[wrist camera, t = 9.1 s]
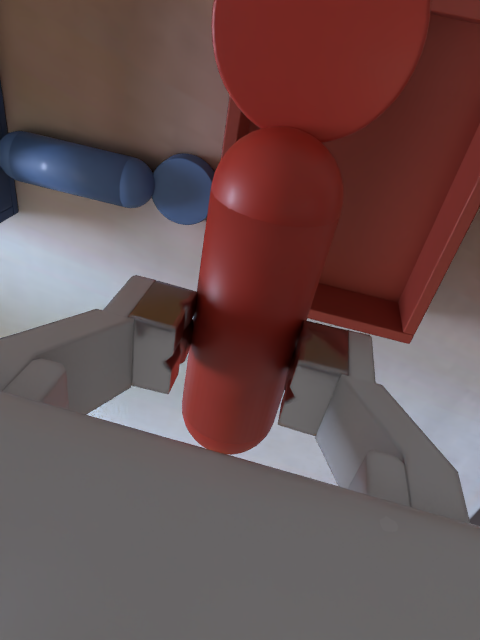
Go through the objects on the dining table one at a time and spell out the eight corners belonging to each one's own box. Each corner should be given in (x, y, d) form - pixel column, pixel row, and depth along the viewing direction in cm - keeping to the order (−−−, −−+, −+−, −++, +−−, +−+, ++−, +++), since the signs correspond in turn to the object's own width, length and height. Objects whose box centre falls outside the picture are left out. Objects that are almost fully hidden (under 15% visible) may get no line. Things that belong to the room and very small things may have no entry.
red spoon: (177, 389, 14) (147, 454, 12) (241, -123, 7) (196, -181, 5) (287, 420, 14) (275, 491, 12) (460, -81, 7) (507, -123, 5)
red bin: (264, -39, 18) (249, -49, 15) (540, 17, 17) (577, 17, 15) (217, 262, 26) (202, 291, 24) (403, 308, 26) (409, 344, 23)
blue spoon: (11, 111, 24) (-21, 121, 22) (224, 161, 23) (211, 176, 21) (20, 177, 26) (-9, 191, 24) (215, 225, 25) (202, 243, 23)
